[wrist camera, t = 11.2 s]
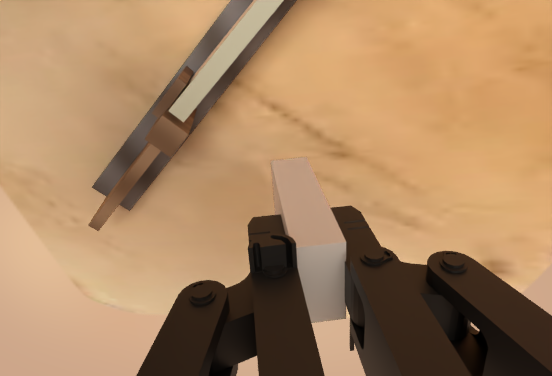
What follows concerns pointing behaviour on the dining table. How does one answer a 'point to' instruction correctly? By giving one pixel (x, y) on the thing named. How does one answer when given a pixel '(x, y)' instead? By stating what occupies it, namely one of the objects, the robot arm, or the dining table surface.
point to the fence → (173, 117)
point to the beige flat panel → (223, 56)
